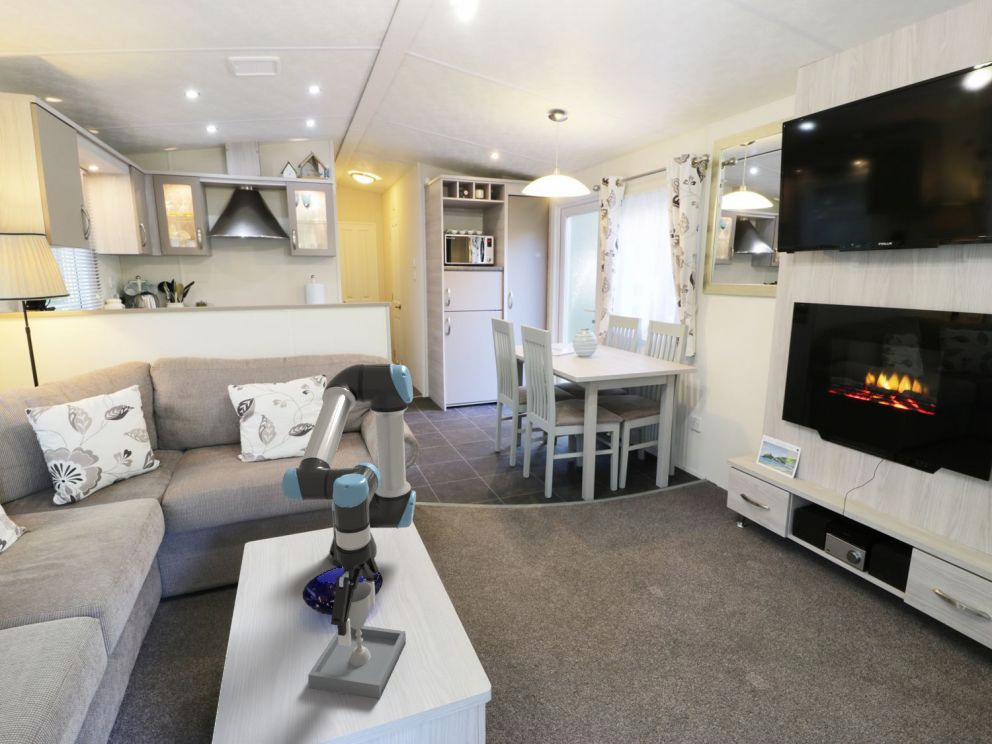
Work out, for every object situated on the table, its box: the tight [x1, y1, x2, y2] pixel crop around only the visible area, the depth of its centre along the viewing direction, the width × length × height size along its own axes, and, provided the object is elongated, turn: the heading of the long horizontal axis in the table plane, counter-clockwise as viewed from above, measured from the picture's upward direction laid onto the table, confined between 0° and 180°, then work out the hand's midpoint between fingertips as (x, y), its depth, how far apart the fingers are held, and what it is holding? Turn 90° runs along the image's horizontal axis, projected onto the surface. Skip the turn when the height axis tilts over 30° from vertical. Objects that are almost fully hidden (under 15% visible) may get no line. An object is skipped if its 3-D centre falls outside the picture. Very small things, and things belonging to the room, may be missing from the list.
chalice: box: [348, 581, 371, 666], centre depth 119 cm, size 7×7×18 cm
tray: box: [307, 625, 407, 700], centre depth 121 cm, size 17×17×4 cm
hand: (358, 623), depth 119 cm, fingers open, 13 cm apart
